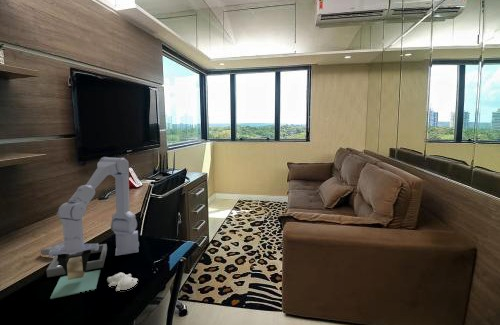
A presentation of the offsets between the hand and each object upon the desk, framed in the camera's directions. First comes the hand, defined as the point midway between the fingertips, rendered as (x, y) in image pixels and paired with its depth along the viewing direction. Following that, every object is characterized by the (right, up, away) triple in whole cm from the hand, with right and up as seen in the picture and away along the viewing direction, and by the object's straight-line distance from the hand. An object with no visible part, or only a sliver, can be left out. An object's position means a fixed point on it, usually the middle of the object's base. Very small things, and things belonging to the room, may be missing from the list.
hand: (76, 271), depth 93 cm
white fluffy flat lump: (+16, -5, +2) cm, 17 cm away
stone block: (-24, -2, +24) cm, 34 cm away
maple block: (0, -2, 0) cm, 2 cm away
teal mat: (0, -5, +1) cm, 5 cm away
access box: (-9, -2, +15) cm, 18 cm away
